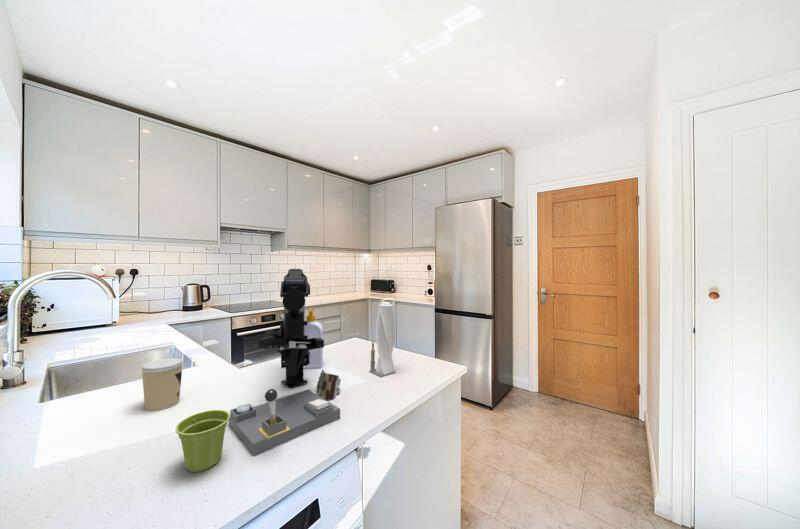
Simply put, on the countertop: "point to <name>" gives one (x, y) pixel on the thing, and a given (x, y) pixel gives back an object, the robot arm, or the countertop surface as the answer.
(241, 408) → the push button
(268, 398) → the toggle lever
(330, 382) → the chocolate cake
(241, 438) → the switch panel
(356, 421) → the countertop surface
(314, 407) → the rocker switch
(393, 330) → the skyscraper
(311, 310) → the soap bottle
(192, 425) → the plant pot
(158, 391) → the coffee cup
